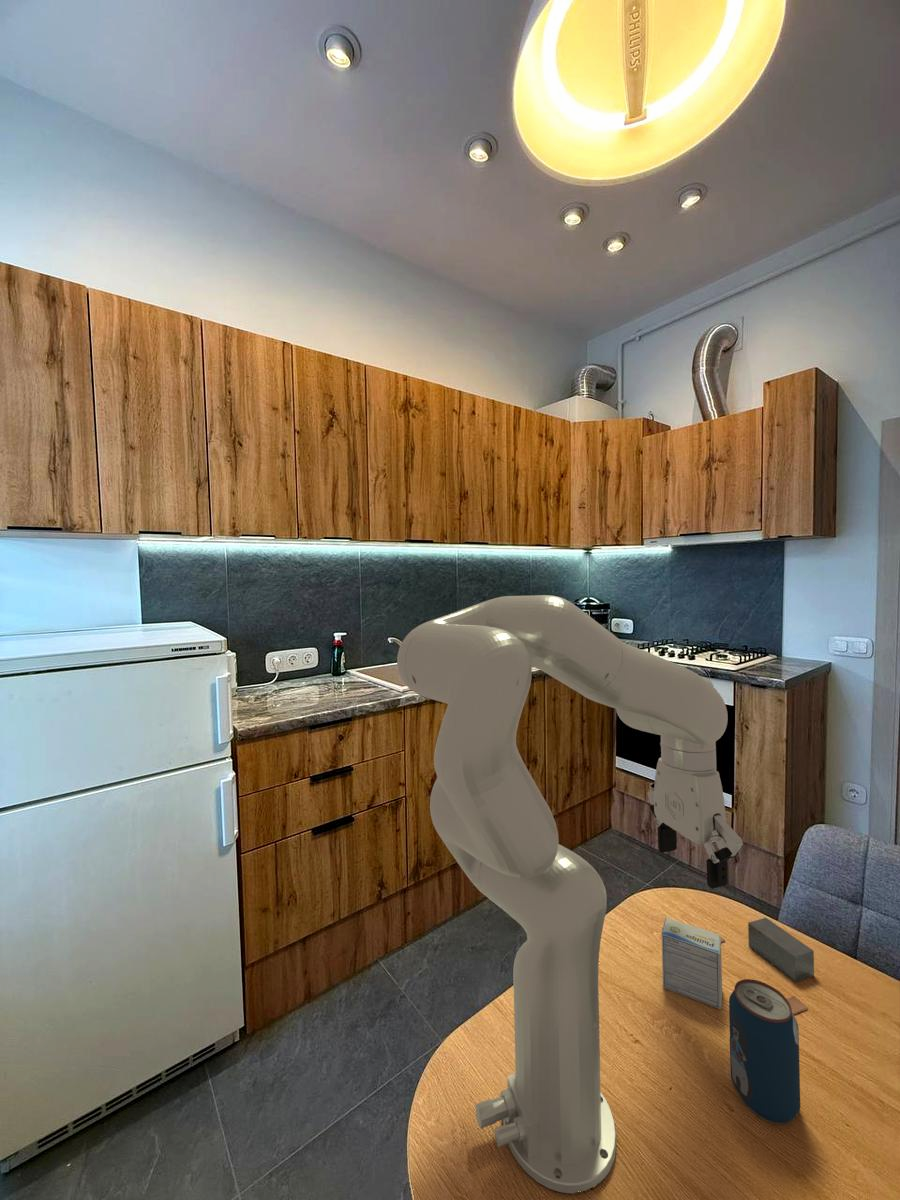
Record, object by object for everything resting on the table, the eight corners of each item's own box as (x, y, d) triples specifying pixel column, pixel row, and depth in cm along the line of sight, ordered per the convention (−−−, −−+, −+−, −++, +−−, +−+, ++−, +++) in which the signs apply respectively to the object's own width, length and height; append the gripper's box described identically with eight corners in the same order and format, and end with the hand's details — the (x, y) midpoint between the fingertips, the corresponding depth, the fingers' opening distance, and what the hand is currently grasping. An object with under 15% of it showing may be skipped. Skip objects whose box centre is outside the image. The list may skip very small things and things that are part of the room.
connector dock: (766, 1025, 65) (765, 996, 65) (678, 944, 80) (678, 921, 80) (842, 996, 69) (841, 969, 69) (745, 925, 84) (745, 903, 84)
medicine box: (722, 990, 71) (721, 933, 71) (721, 1012, 67) (720, 952, 67) (666, 969, 75) (665, 915, 75) (662, 988, 71) (661, 932, 71)
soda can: (808, 1102, 55) (806, 1001, 55) (789, 1146, 51) (787, 1036, 51) (743, 1057, 60) (741, 966, 60) (721, 1093, 56) (719, 995, 56)
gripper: (630, 742, 78) (633, 843, 78) (716, 781, 62) (719, 908, 62) (666, 737, 80) (669, 835, 81) (758, 773, 64) (762, 896, 64)
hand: (691, 867), depth 71 cm, fingers open, 9 cm apart
